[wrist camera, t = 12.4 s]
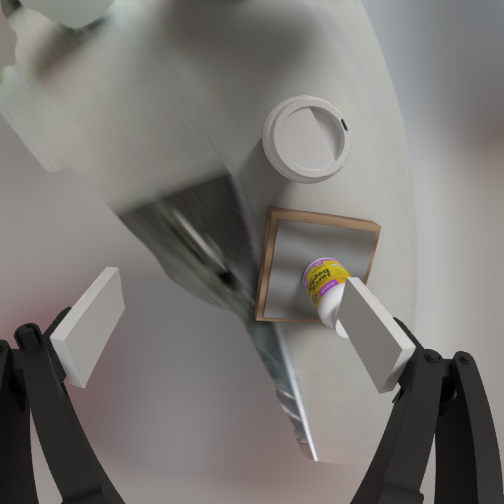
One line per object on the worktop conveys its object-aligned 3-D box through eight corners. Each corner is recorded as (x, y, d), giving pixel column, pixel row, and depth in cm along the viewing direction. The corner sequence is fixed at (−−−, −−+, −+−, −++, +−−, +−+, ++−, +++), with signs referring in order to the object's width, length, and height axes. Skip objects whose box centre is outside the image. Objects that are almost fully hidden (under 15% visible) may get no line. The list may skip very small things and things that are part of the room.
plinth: (268, 206, 41) (272, 212, 38) (371, 220, 43) (382, 227, 40) (254, 309, 47) (256, 322, 44) (347, 312, 50) (354, 323, 46)
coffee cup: (316, 172, 40) (360, 184, 26) (254, 176, 40) (268, 189, 26) (312, 112, 37) (354, 94, 23) (249, 114, 36) (260, 91, 22)
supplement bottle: (317, 248, 40) (351, 289, 28) (349, 267, 42) (388, 309, 30) (293, 284, 42) (316, 335, 30) (325, 300, 43) (355, 350, 31)
